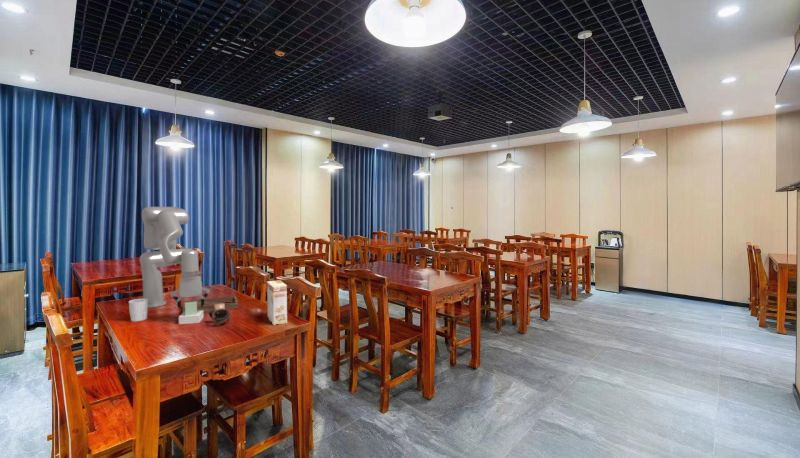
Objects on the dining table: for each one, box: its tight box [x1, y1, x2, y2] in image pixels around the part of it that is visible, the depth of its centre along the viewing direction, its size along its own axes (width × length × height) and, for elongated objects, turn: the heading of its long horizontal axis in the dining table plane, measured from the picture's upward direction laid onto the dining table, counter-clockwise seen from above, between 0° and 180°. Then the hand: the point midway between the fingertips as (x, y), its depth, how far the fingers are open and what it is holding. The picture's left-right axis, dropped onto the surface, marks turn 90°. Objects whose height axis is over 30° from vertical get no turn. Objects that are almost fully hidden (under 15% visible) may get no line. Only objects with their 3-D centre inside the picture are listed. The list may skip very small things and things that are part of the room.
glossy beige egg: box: [213, 303, 226, 314], centre depth 195 cm, size 5×5×5 cm
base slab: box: [178, 311, 204, 325], centre depth 183 cm, size 9×9×4 cm
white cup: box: [128, 298, 149, 322], centre depth 184 cm, size 8×8×10 cm
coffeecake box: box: [266, 279, 288, 326], centre depth 184 cm, size 15×7×20 cm, turn 31°
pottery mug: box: [208, 309, 232, 327], centre depth 179 cm, size 12×10×8 cm
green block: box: [185, 300, 198, 316], centre depth 183 cm, size 5×5×6 cm
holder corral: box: [182, 295, 239, 314], centre depth 206 cm, size 17×27×4 cm, turn 118°
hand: (191, 307), depth 183 cm, fingers open, 9 cm apart
